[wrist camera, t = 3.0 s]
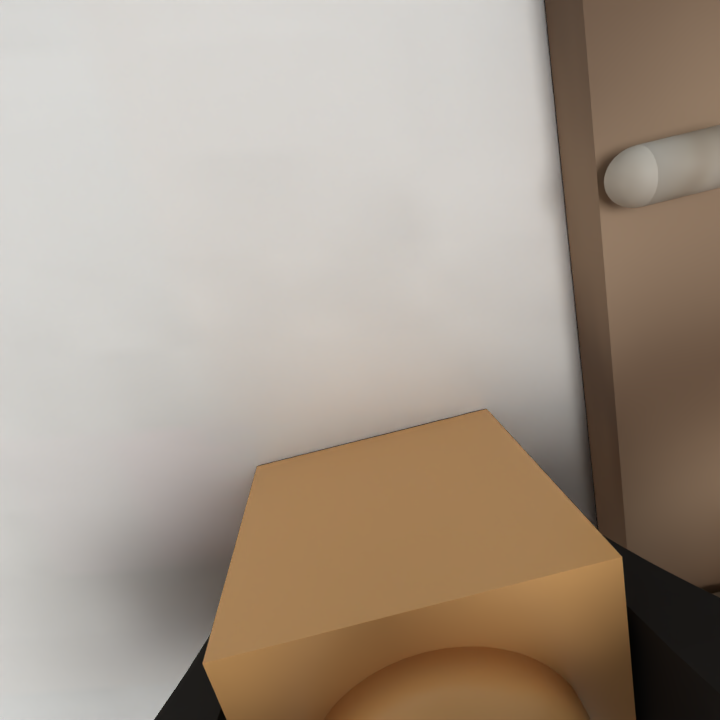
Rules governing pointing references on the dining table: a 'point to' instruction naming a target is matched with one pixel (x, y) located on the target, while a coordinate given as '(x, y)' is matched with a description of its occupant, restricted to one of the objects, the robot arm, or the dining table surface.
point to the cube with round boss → (420, 588)
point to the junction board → (646, 265)
